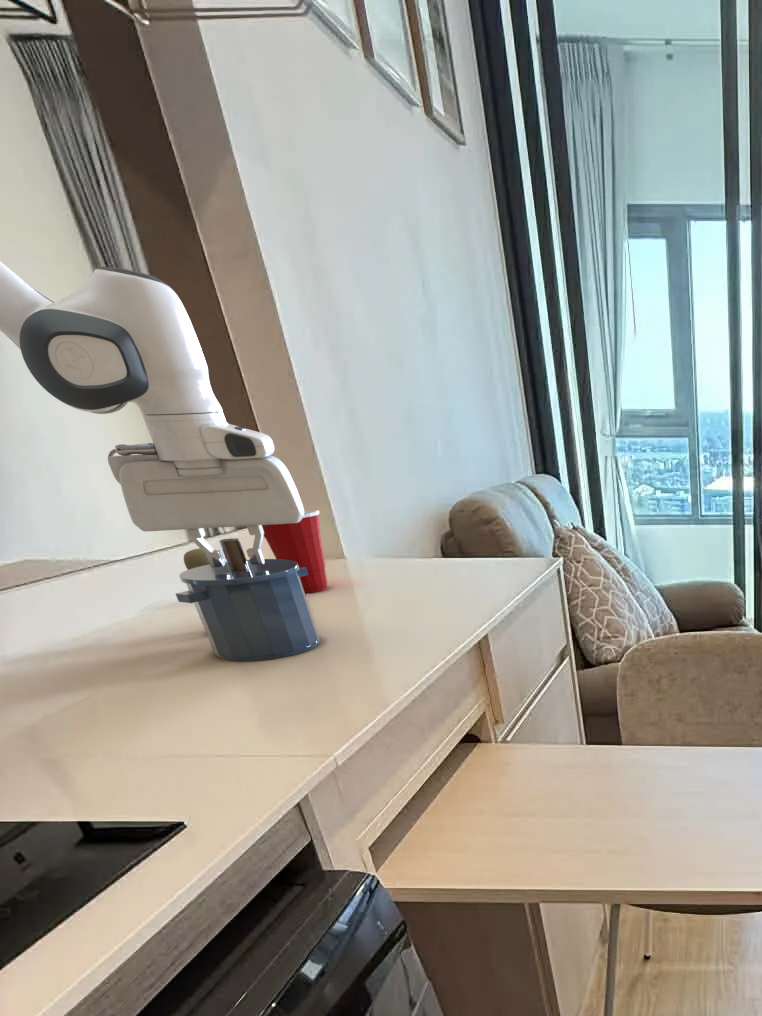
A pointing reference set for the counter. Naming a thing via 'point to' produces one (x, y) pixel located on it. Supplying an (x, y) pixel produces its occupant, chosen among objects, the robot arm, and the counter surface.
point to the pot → (255, 618)
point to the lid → (238, 568)
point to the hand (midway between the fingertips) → (238, 565)
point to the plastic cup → (300, 548)
